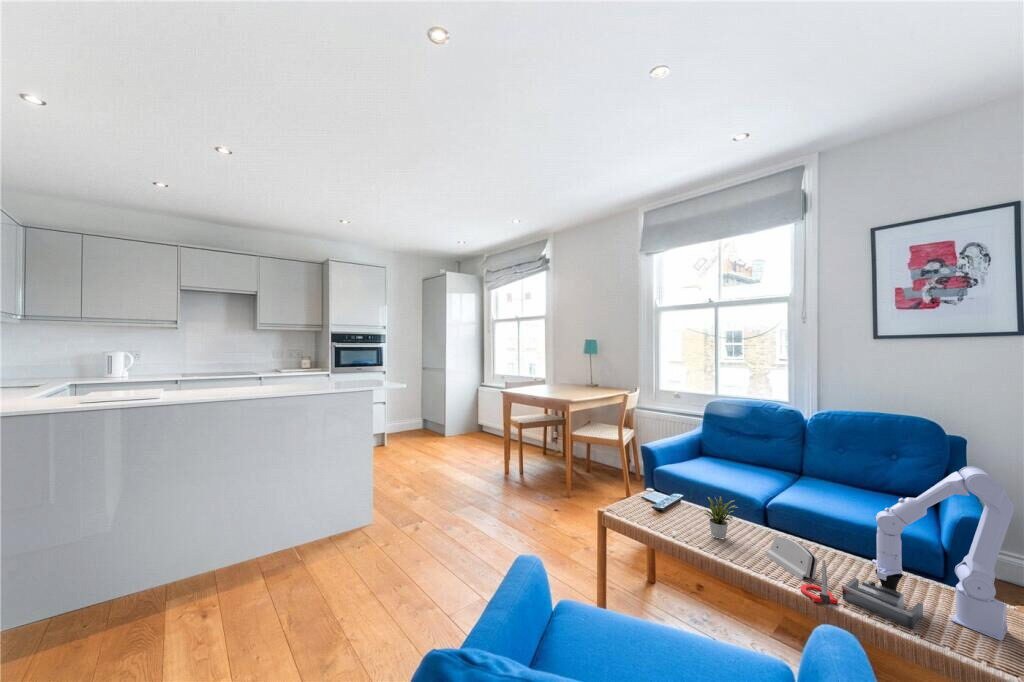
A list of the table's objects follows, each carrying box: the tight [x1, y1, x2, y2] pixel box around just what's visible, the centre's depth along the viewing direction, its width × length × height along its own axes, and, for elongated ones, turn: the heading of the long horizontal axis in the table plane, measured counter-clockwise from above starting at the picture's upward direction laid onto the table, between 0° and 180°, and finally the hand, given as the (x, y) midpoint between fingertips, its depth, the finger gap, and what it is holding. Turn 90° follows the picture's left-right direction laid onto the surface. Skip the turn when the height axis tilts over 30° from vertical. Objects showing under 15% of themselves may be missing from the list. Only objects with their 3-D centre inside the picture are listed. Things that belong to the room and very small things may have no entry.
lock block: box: [858, 579, 905, 610], centre depth 123 cm, size 9×7×6 cm
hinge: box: [764, 535, 818, 581], centre depth 145 cm, size 17×5×10 cm, turn 8°
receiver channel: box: [841, 577, 924, 630], centre depth 123 cm, size 16×11×4 cm, turn 33°
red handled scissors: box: [800, 559, 839, 605], centre depth 129 cm, size 8×13×9 cm
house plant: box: [703, 496, 739, 539], centre depth 167 cm, size 14×14×16 cm
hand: (889, 595), depth 126 cm, fingers closed
